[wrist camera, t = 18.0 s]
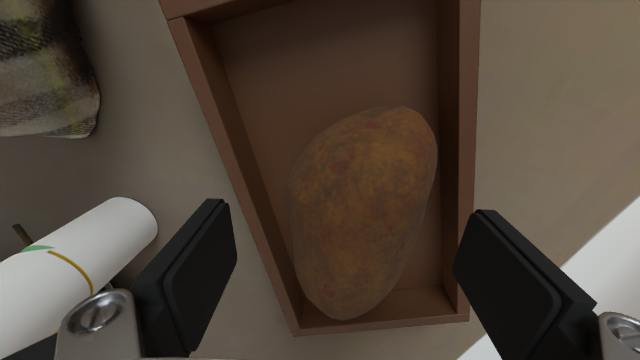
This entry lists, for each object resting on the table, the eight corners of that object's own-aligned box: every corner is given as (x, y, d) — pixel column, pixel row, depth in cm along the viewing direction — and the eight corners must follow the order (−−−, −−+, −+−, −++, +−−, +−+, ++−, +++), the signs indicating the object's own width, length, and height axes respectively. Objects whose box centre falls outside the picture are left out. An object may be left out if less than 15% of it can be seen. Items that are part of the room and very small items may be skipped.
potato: (395, 310, 15) (313, 244, 19) (481, 142, 12) (366, 108, 16) (321, 381, 9) (228, 265, 13) (452, 101, 7) (289, 66, 11)
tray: (195, 13, 13) (156, -2, 10) (447, -61, 11) (485, -104, 8) (298, 301, 21) (292, 337, 19) (450, 285, 20) (469, 321, 17)
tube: (160, 209, 18) (-359, 631, 5) (154, 251, 20) (-236, 647, 6) (101, 188, 18) (-668, 587, 4) (100, 233, 19) (-445, 617, 6)
